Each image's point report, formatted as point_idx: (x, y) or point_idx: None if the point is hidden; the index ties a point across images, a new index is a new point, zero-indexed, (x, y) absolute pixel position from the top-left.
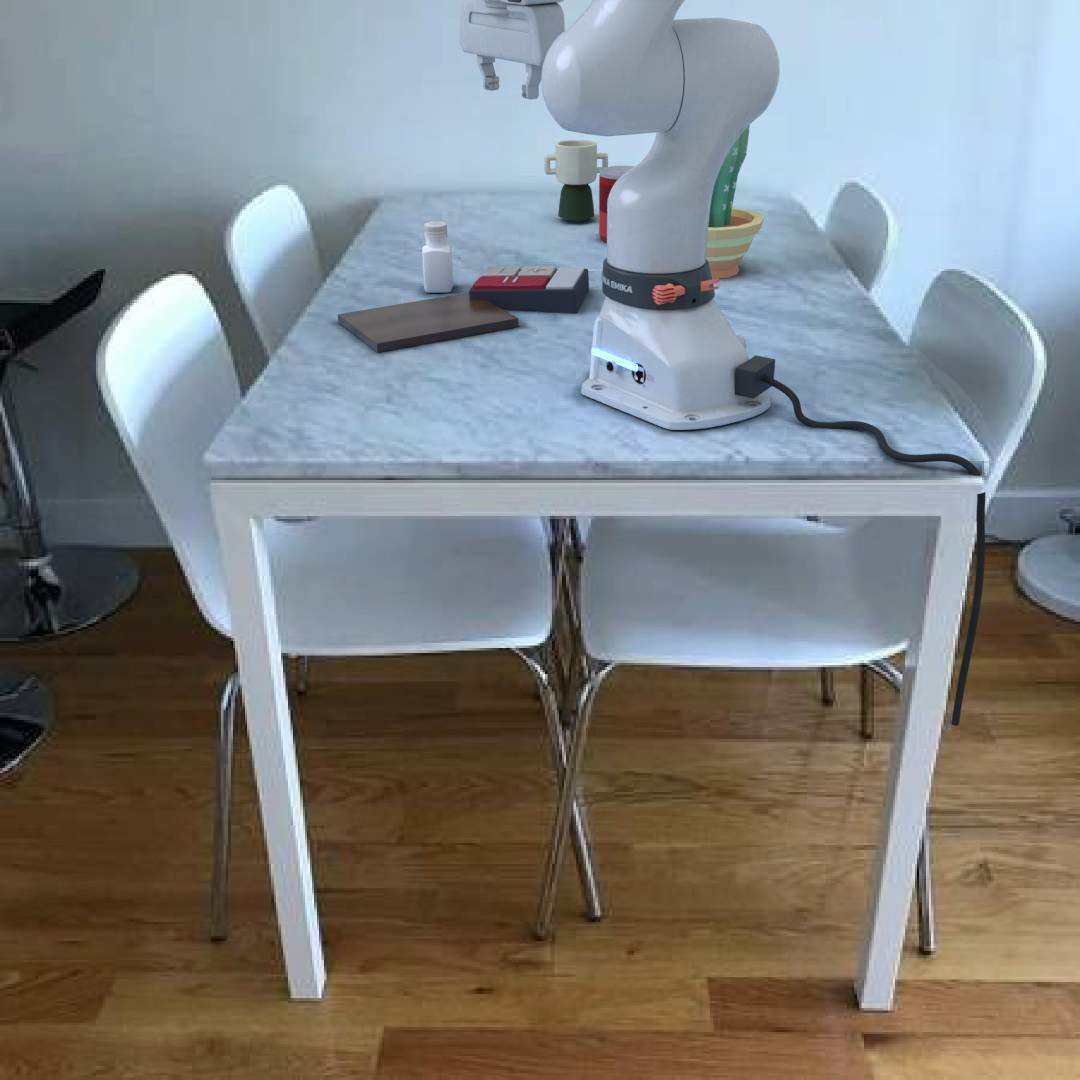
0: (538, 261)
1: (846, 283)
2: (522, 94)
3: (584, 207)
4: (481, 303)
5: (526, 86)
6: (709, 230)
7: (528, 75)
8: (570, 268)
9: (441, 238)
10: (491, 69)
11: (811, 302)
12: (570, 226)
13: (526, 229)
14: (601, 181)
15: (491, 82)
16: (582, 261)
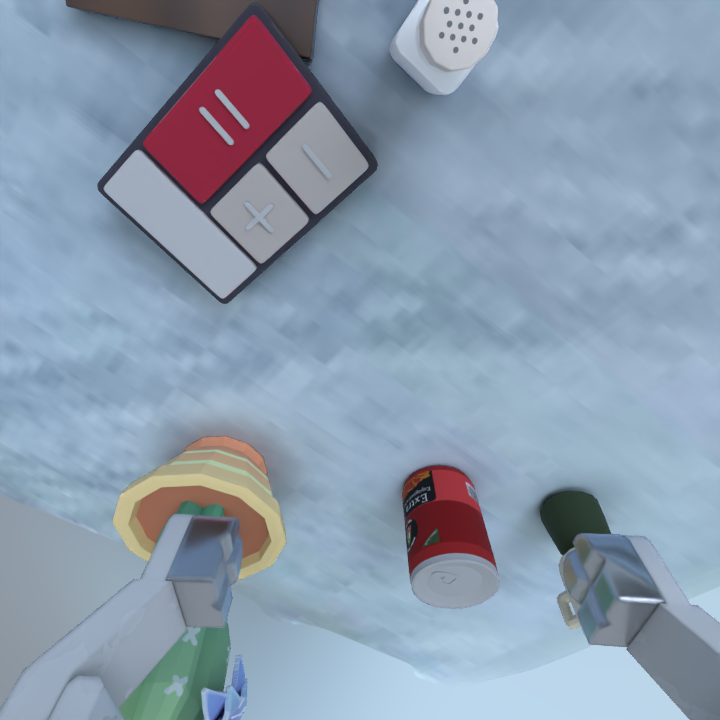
0: (439, 337)
1: (89, 527)
2: (228, 528)
3: (551, 522)
4: (213, 8)
5: (160, 574)
6: (128, 489)
7: (78, 650)
8: (230, 275)
9: (419, 26)
10: (676, 683)
11: (28, 461)
12: (551, 483)
13: (601, 435)
14: (470, 546)
15: (596, 581)
16: (385, 385)
